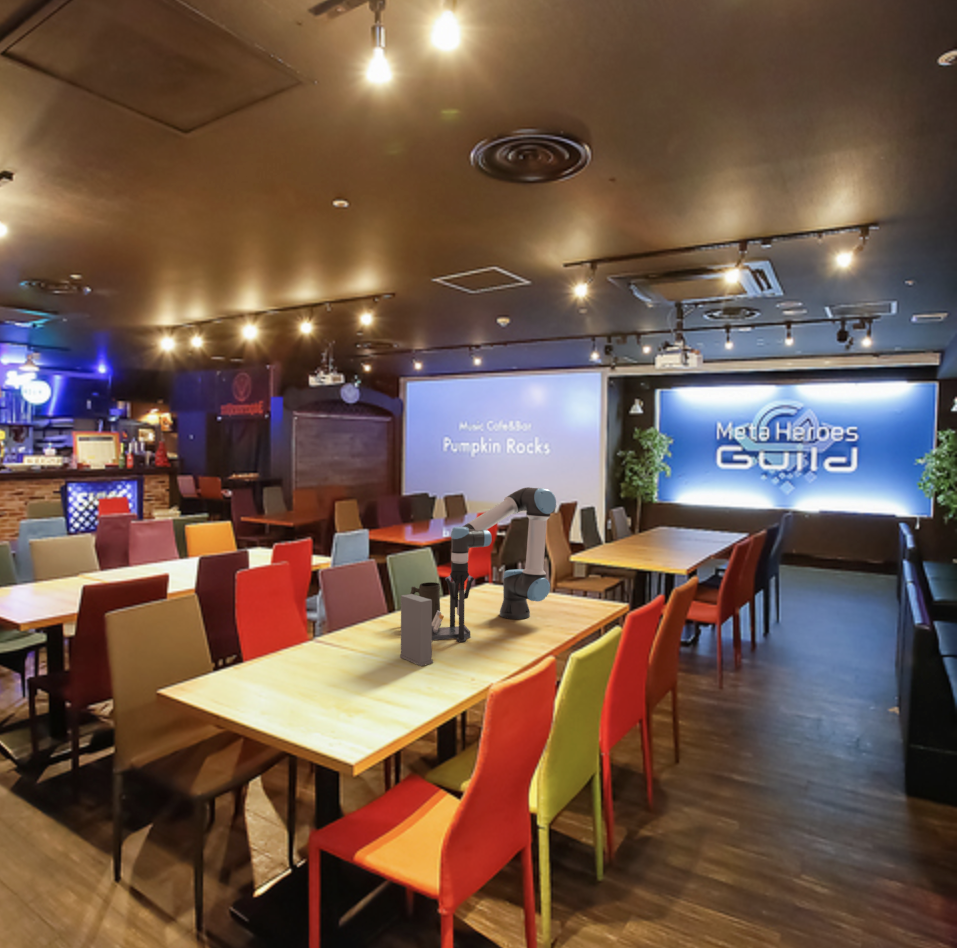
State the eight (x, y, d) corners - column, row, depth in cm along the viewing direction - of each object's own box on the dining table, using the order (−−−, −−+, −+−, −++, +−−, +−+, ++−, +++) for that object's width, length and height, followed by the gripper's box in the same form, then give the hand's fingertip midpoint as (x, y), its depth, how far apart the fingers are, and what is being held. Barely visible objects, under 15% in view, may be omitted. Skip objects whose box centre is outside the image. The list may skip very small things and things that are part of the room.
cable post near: (465, 639, 283) (465, 589, 282) (467, 642, 279) (467, 591, 278) (455, 640, 282) (455, 589, 281) (457, 642, 278) (457, 592, 277)
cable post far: (456, 628, 300) (456, 581, 300) (458, 630, 296) (458, 583, 295) (446, 628, 299) (447, 581, 298) (448, 631, 295) (449, 583, 294)
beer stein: (444, 622, 310) (441, 581, 309) (440, 628, 299) (438, 585, 299) (412, 623, 312) (410, 582, 311) (408, 629, 301) (405, 587, 300)
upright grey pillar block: (433, 663, 251) (433, 599, 250) (420, 666, 247) (421, 602, 246) (412, 654, 261) (413, 593, 260) (400, 657, 257) (400, 595, 256)
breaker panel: (464, 630, 297) (464, 624, 297) (470, 637, 286) (470, 631, 285) (412, 633, 291) (412, 627, 291) (416, 641, 279) (416, 635, 279)
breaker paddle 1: (432, 627, 294) (440, 611, 294) (434, 630, 290) (441, 613, 291) (429, 626, 293) (437, 610, 294) (430, 628, 290) (438, 611, 290)
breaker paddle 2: (435, 631, 288) (442, 614, 288) (436, 633, 284) (444, 616, 285) (431, 630, 287) (439, 613, 288) (433, 632, 284) (441, 615, 285)
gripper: (471, 560, 293) (471, 611, 294) (443, 560, 290) (442, 613, 290) (476, 562, 286) (475, 615, 286) (447, 563, 282) (446, 617, 283)
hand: (458, 614), depth 288 cm, fingers closed
